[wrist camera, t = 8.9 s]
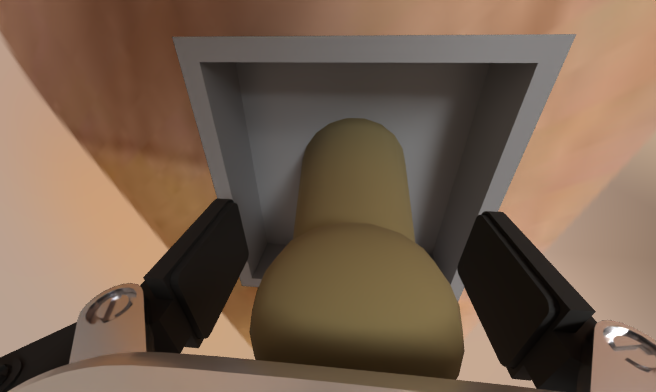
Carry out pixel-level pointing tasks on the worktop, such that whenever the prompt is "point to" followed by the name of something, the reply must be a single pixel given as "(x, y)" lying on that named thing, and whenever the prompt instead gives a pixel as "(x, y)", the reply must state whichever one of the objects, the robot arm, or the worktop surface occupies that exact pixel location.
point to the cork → (357, 268)
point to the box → (378, 106)
